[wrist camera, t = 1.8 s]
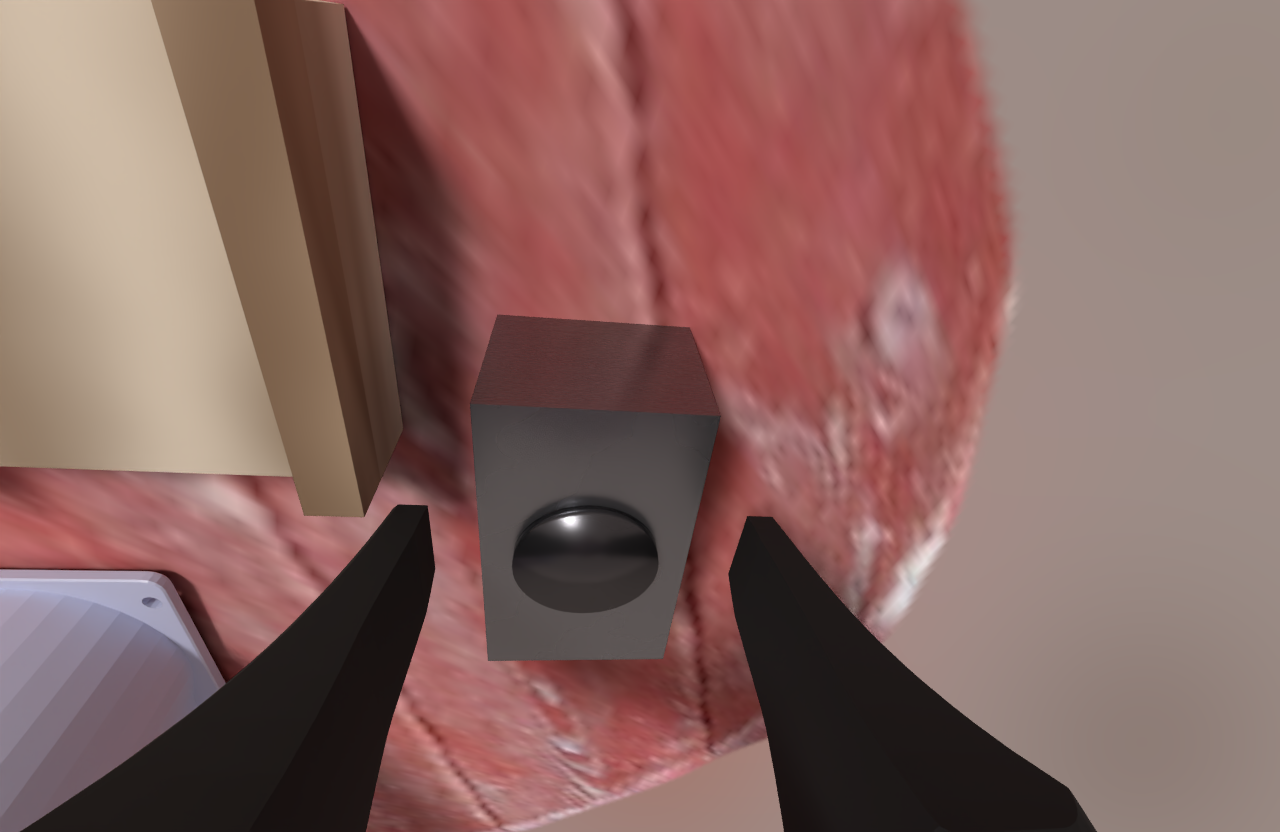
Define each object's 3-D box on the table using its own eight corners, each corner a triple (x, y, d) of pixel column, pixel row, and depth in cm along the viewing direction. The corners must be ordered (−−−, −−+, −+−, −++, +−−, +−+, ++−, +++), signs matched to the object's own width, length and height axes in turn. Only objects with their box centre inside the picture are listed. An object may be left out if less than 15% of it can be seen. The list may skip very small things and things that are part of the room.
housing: (648, 546, 18) (664, 669, 15) (506, 543, 18) (486, 671, 14) (688, 324, 14) (723, 425, 10) (498, 310, 13) (467, 413, 10)
